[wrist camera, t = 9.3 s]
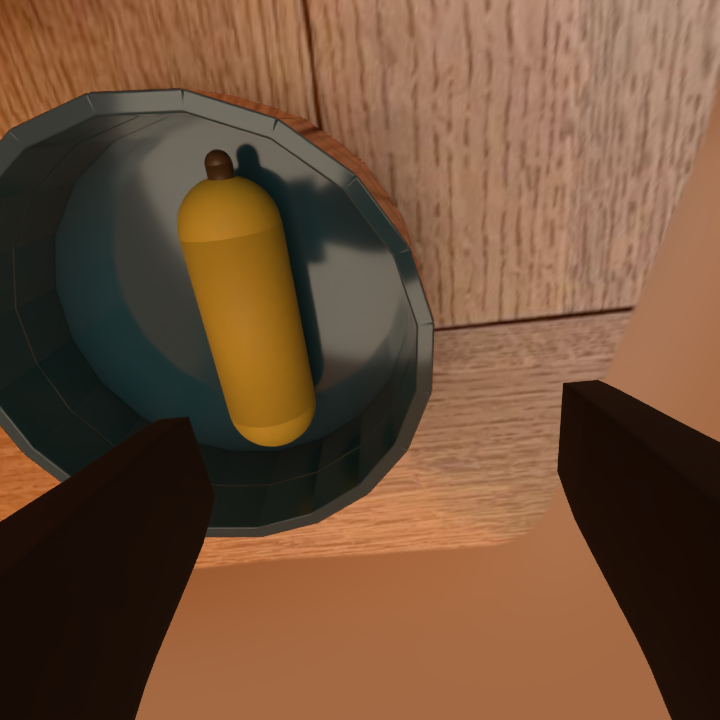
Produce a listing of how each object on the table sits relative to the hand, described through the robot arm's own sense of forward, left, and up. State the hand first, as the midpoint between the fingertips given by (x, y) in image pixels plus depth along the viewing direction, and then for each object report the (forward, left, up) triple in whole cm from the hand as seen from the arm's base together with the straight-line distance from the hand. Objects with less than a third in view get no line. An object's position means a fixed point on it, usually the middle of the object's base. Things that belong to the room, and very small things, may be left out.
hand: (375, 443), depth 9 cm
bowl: (+5, +2, -10) cm, 11 cm away
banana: (+5, +2, -9) cm, 10 cm away
